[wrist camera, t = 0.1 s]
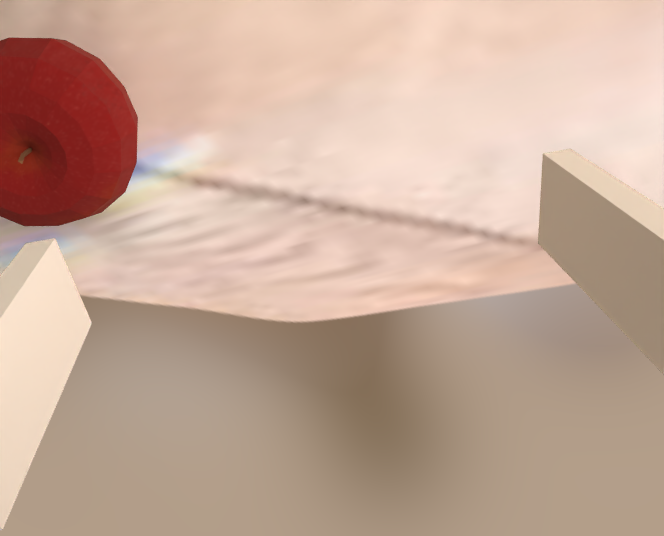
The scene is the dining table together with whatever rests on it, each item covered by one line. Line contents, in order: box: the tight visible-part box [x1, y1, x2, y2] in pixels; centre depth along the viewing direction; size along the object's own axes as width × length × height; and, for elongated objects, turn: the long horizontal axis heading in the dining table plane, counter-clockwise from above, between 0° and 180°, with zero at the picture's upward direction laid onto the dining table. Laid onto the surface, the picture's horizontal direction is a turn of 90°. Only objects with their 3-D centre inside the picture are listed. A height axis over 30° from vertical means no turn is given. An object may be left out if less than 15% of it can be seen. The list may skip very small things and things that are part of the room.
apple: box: [0, 38, 138, 226], centre depth 34 cm, size 11×11×12 cm
